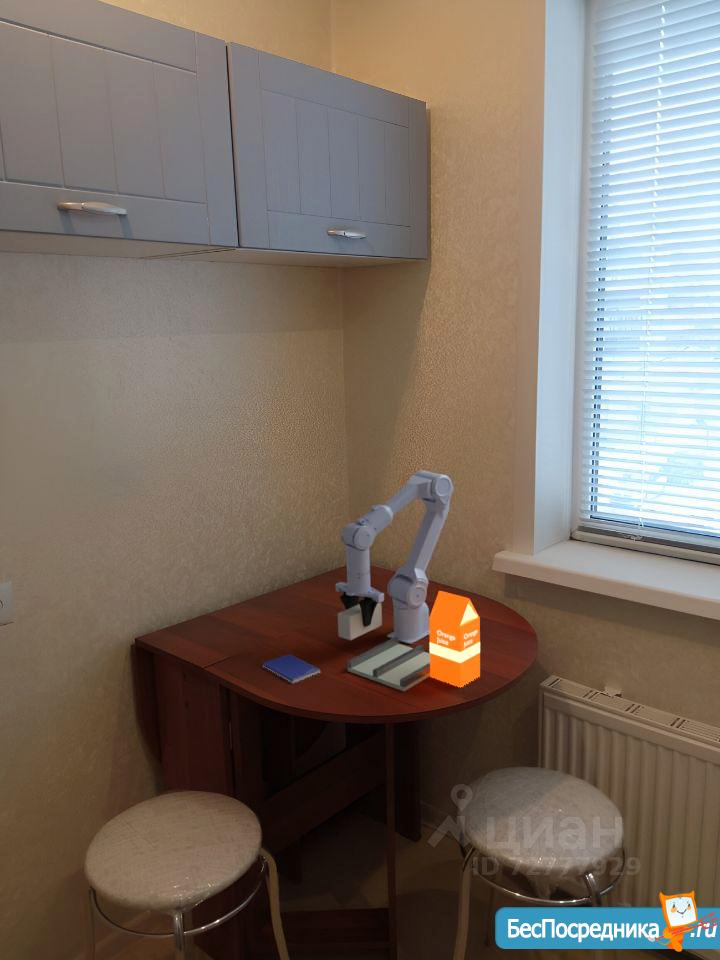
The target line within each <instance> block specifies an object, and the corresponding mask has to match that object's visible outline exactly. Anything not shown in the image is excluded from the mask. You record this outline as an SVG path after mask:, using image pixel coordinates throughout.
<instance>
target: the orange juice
mask: <svg viewBox="0 0 720 960" xmlns="http://www.w3.org/2000/svg"><path fill="white" fill-rule="evenodd" d="M435 598H436V599H435V601H434V603H433V607H432V609H431V613H429V631H430V634H429V653H430V676H429V677H430V678H432V679H434V678H435V680H438V681H440V682H442V683H445V682H446V684H448V683H449V684H448V685H452V686H455V687H456V686H457V687H458V688H459V687H460V688H459V689H461V687H462V688H464V687H465V686H467V685H469V684H470V683H471V681H472V682H473V681H475V680H477V679H479V678H480V677H481V630H480V629H481V628H480V627H481V626H480V625H481V621H480V620H481V616H479V614H478V613H477V610H476V609H475V607H474V605H473V603H472V600H471V599H470V598H469V597H465V596H462V595H458V594H454V593H451V592H450V593H449V592H447V591H442V590H439V591H438V594H437V595H436V597H435ZM478 677H479V678H478ZM476 678H477V679H476ZM474 679H475V680H474ZM469 682H470V683H469ZM466 684H467V685H466ZM464 685H465V686H464ZM457 687H456V688H457Z"/></svg>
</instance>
